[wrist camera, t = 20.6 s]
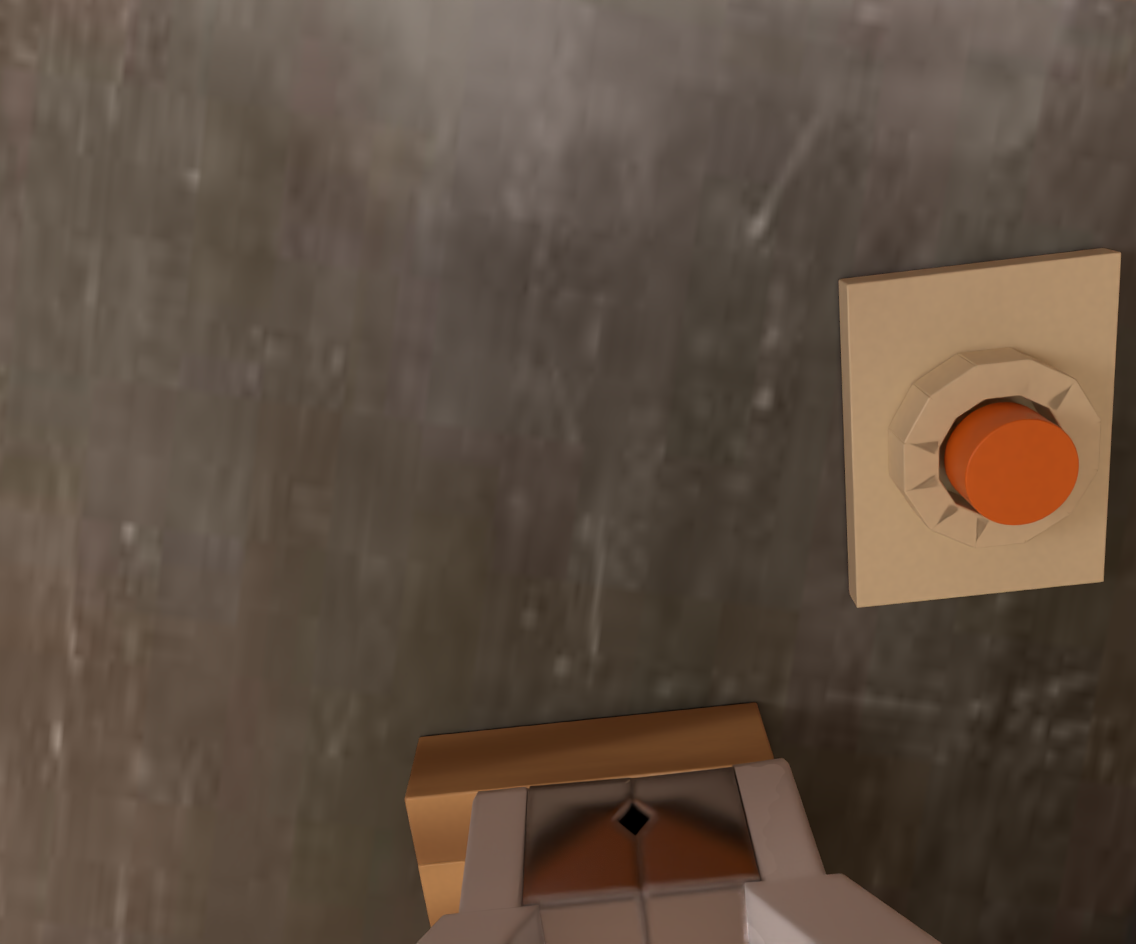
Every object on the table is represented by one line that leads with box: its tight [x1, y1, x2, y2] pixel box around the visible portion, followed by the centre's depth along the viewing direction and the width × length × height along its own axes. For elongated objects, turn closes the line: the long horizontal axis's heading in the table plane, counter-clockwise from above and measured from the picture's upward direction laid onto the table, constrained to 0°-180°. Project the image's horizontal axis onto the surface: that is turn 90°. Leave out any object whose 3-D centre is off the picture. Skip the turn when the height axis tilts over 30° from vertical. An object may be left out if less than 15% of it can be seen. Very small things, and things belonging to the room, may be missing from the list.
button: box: [944, 402, 1079, 525], centre depth 34 cm, size 4×4×2 cm
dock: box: [405, 703, 774, 927], centre depth 42 cm, size 14×14×4 cm
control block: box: [839, 248, 1121, 608], centre depth 36 cm, size 12×9×3 cm
